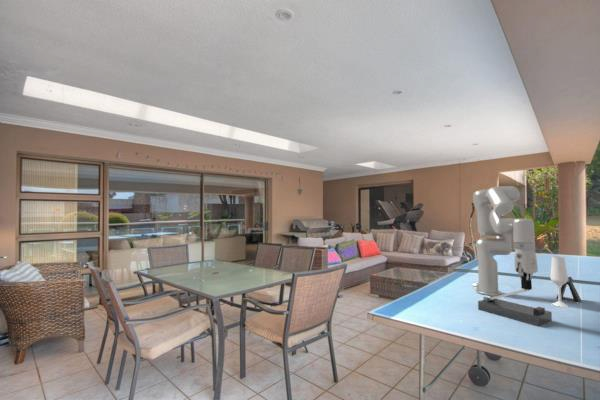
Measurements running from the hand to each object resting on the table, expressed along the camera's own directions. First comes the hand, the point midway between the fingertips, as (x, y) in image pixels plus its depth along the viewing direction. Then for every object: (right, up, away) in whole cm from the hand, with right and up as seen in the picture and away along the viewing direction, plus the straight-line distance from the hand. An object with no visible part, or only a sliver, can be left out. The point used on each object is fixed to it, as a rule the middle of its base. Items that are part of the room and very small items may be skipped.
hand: (526, 288), depth 127 cm
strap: (-3, -5, +7) cm, 9 cm away
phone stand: (+45, -15, +29) cm, 55 cm away
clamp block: (-2, -13, +5) cm, 14 cm away
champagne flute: (+32, -14, +19) cm, 40 cm away
